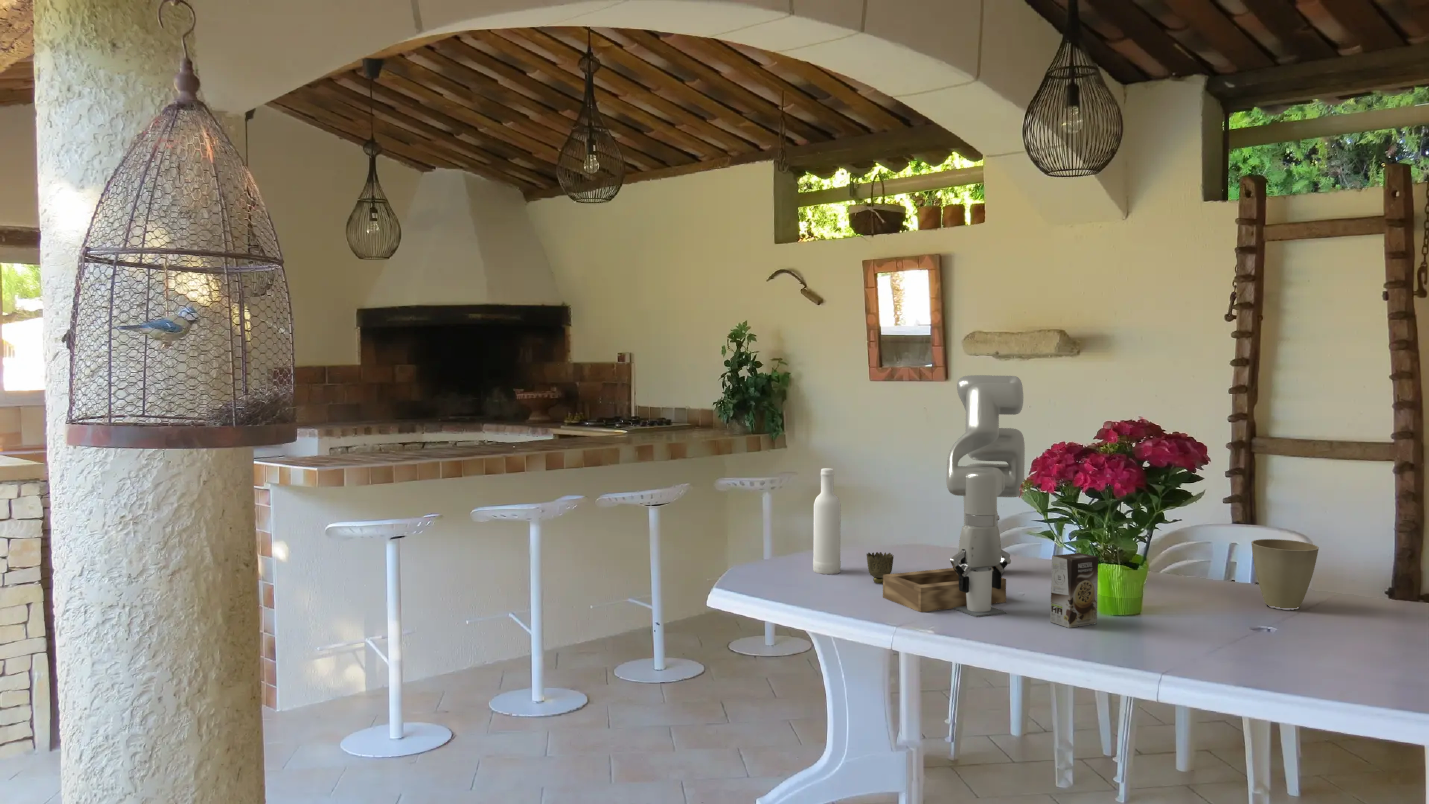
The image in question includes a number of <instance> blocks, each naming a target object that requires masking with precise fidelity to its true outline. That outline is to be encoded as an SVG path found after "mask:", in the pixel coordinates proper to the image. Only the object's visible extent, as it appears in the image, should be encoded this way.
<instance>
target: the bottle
mask: <svg viewBox="0 0 1429 804" xmlns="http://www.w3.org/2000/svg"><path fill="white" fill-rule="evenodd" d="M834 475H835V471H834V468H830V467H827V468H825V467H823V468H821V469H820V493H819V494H818V495H817V496H816V497H815V500H814V502H813V538H812V539H813V549H812V550H813V553H812V555H813V559H812V569H813V572H814V573H816V574H819V575H820V574H821V575H834V574H835V575H837V574H839V573H840V572H841V566H842V565H841V562H842V561H841V530H842V529H841V521H842V519H841V516H842V515H841V511H842V509H841V502H840V498H839V497H838V496H837V495H836V494H835V493H834V490H835V489H834V483H835V482H834V477H835V476H834Z"/></svg>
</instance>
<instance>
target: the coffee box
mask: <svg viewBox="0 0 1429 804" xmlns="http://www.w3.org/2000/svg"><path fill="white" fill-rule="evenodd" d="M1098 577H1099V556H1097V555H1092V554H1087V553H1081V552H1074V553H1066V554H1065V553H1063V554H1055V555H1052V557H1051V582H1050V584H1051V587H1050V591H1051V592H1050V619H1049V621H1050V623H1051V624H1052V623H1053V624H1056V625H1059V626H1062V627H1065V628H1067V629H1068V628H1069V629H1071V628H1078V626H1079V627H1082V626H1083V627H1084V626H1090V625H1089V624H1092V625H1095V624H1094V623H1097V624H1098V591H1099V590H1098V587H1099V586H1098V585H1099V584H1098V580H1099V578H1098Z"/></svg>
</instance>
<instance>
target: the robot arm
mask: <svg viewBox="0 0 1429 804" xmlns="http://www.w3.org/2000/svg"><path fill="white" fill-rule="evenodd" d="M1023 387H1024V386H1023V382H1022V380H1021V379H1020V378H1019V377H1018V376H1017V375H989V374H988V375H985V374H984V375H983V374H978V375H977V374H975V375H974V374H971V375H970V374H969V375H964V376H962V377H959V379H958V380H957V383H956V390H957V394H958V398H959V399H960V402H961V404H962V405H963V407H964V410H965V432H964V434H962V435H961V436H960V437H959V438H958V439H957V440H956V441H955V443H954V444H953V445H952V447H951V449H950V450H949V452H948V455H947V461H946V488H947V490H948V492H949V493H950V494H951V495H953V496H958V497H961V496H963V497H962V498H963V526H962V527H961V530H960V535H959V543H958V551H957V553H956V554H955V555H954V556H952V557H951V558H949V561H950V564H951V566H952V568H953V569H954V570H955V571H956V573H957V575H959V590H960V591H962V592H965V593H968V592H969V577H968V576H967V575H968V573H969V572H970V570H971V569H972V568H983V567H989V568H992V587H993V588H996V589H1001V578H1002V574H1003V573H1004V572H1005V569H1006V567H1007V566H1008V565H1010V564H1011V563H1012V560H1011V554H1010V553H1009V552H1007V551H1005V550H1004V549H1002V543H1001V541H1002V540H1001V534H1000V529H999V525H998V523H999V522H998V521H999V520H1000V515H999V514H998V511H997V510H998V509H997V508H998V498H1018V497H1020V496H1021V495H1020V491H1019V487H1020V485H1021V484H1022V482H1023V481H1024V482H1025V462H1026V460H1025V457H1026V453H1025V452H1026V450H1025V449H1026V447H1025V438H1024V434H1023V433H1022V431H1020V430H1019V429H1016V428H1011V427H1009V428H1008V427H1000V415H1008V416H1010V415H1012V416H1013V415H1019V414H1020V413H1021V412H1022V410H1023V406H1024V388H1023ZM966 455H968V457H969V458H970V459H972V460H974V461H979V463H978V462H977V463H970V464H968V465H964V466H963V465H959V462H960V460H961V459H962V458H963V457H964V456H966ZM981 461H983V462H984V463H981ZM985 462H1005V463H985Z"/></svg>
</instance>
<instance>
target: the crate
mask: <svg viewBox="0 0 1429 804" xmlns="http://www.w3.org/2000/svg"><path fill="white" fill-rule="evenodd" d="M882 599H885V600H888V601H891V602H893V603H896V604H899V605H901V606H903V607H906V608H909V609H910V610H914V611H917V612H919V613H924V612H934V611H941V610H949V609H950V610H951V609H952V610H953V609H954V607H960V606H967V600H966V593H965V592H962V591H960V590H959V575H957V573H956V571H955V570H954V569H953V567H949V568H948V567H945V568H940V569H939V568H937V569H928V570H918V571H909V572H899V573H898V572H897V573H891V574H886V575H883V584H882ZM1006 602H1007V578H1005V577H1001V589H996V588H993V587H992V593H991V605H992V604H1001V603H1002V604H1003V603H1006Z"/></svg>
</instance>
